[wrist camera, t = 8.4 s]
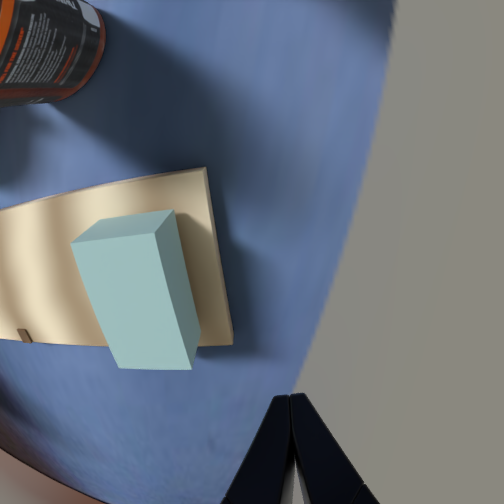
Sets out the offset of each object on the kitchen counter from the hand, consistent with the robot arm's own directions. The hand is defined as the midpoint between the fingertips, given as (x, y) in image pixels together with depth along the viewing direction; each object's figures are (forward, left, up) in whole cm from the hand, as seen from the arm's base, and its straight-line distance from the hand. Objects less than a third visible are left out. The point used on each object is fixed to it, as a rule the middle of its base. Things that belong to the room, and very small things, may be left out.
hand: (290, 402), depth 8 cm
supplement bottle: (+10, -13, -10) cm, 19 cm away
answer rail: (+18, 0, -10) cm, 20 cm away
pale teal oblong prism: (+6, +1, -8) cm, 11 cm away
